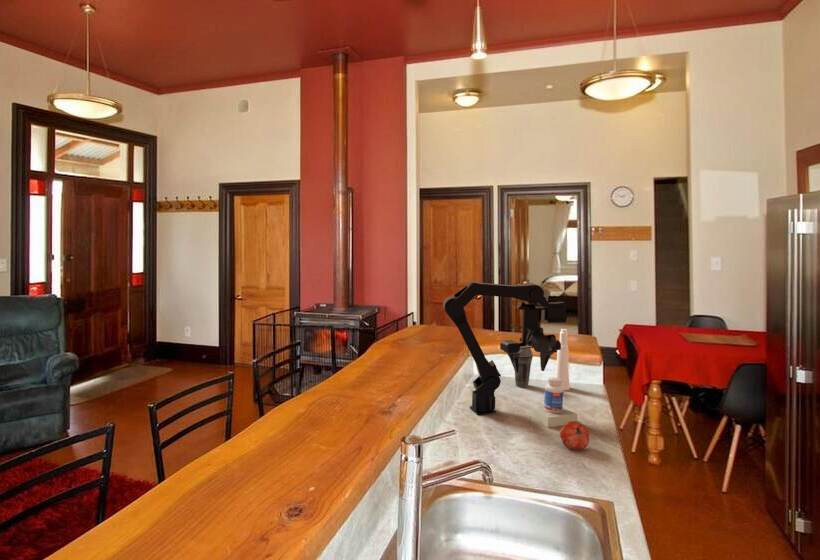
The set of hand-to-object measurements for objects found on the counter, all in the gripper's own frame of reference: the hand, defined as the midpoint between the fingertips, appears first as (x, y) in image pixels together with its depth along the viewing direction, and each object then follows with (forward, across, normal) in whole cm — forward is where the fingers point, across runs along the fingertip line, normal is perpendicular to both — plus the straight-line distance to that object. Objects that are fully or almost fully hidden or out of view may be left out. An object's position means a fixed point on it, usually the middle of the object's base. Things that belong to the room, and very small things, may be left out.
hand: (529, 371), depth 156 cm
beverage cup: (+13, +11, +24) cm, 30 cm away
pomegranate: (+13, -2, -27) cm, 30 cm away
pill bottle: (+10, +4, -8) cm, 14 cm away
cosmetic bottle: (+13, +24, +18) cm, 33 cm away
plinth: (+13, +4, -8) cm, 16 cm away
